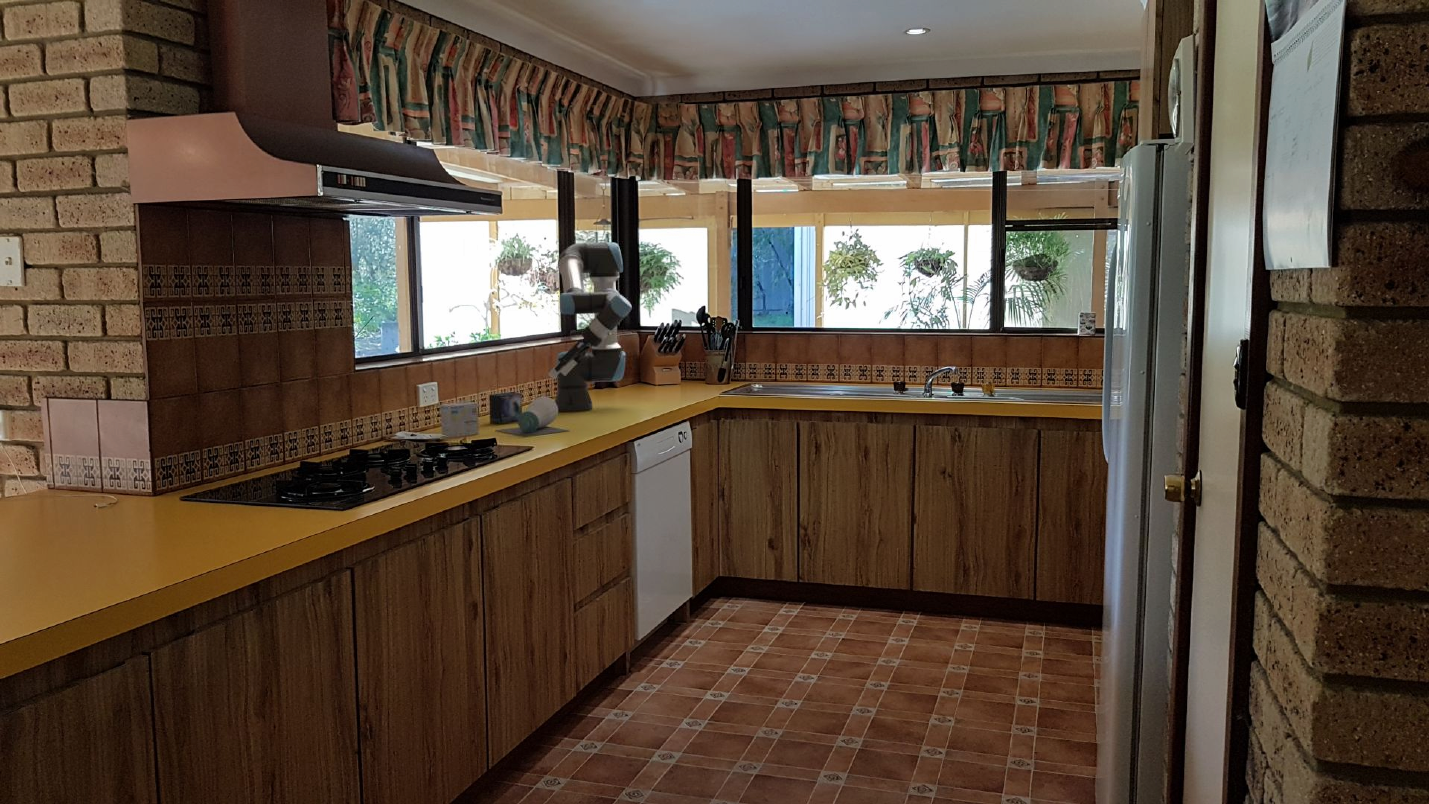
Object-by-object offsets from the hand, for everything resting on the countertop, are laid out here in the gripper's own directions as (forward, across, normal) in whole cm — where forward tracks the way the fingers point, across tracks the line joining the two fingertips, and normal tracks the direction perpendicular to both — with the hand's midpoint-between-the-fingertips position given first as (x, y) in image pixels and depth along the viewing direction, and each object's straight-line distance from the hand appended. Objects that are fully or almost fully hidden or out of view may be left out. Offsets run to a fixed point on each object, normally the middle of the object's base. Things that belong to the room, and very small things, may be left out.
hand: (556, 375), depth 380 cm
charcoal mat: (+14, -20, -10) cm, 26 cm away
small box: (+26, +2, +2) cm, 27 cm away
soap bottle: (+9, -8, -7) cm, 14 cm away
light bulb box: (+30, -30, +5) cm, 42 cm away
